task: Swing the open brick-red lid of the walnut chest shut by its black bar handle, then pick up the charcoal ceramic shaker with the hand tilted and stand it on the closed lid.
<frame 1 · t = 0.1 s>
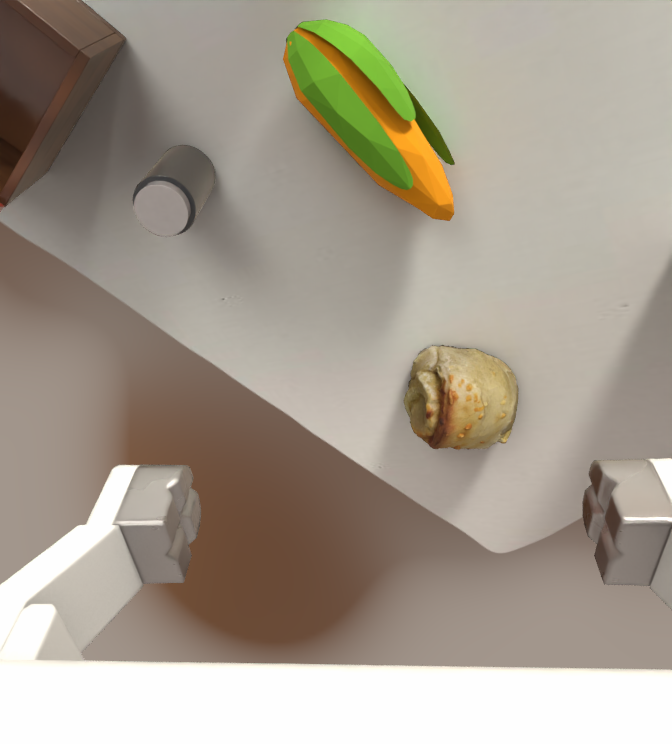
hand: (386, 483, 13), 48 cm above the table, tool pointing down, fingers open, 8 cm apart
chest: (8, 51, 53), on the table
pastry: (459, 387, 72), on the table
corn: (381, 116, 55), on the table
shaker: (187, 173, 58), on the table
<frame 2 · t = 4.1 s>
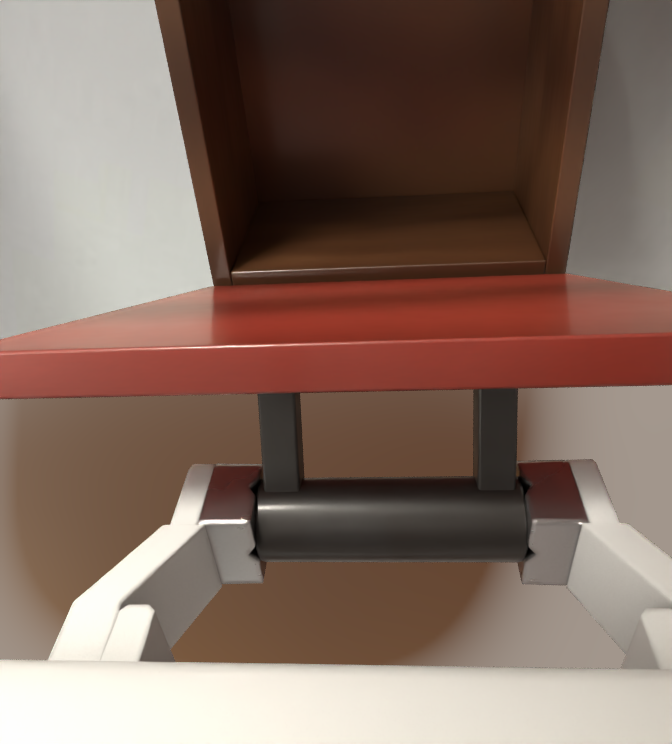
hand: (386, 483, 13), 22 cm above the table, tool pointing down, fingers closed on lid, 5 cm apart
chest: (380, 40, 28), on the table
lid: (386, 378, 18), point 17 cm above the table, hinge at 65.0°, touching gripper
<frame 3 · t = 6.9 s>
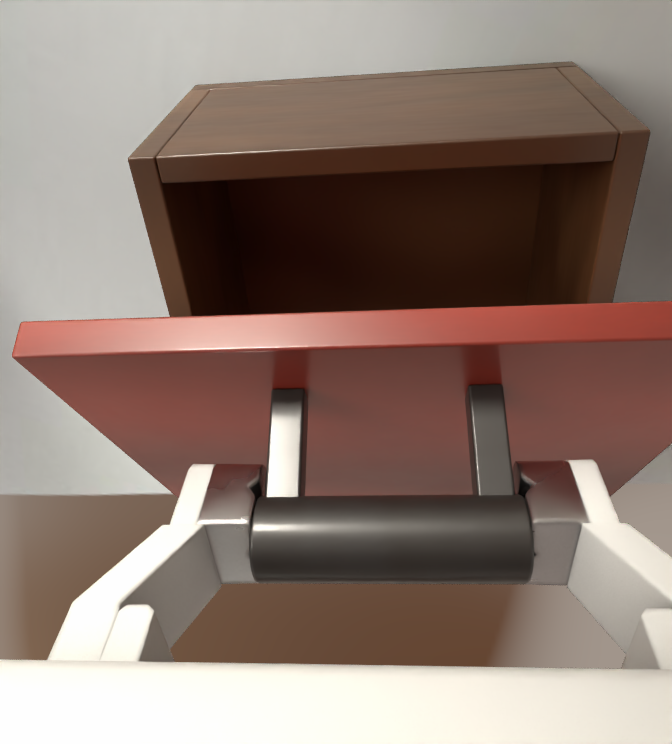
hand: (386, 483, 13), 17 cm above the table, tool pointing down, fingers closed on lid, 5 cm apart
chest: (384, 256, 28), on the table
lid: (389, 527, 18), point 14 cm above the table, hinge at 26.7°, touching gripper
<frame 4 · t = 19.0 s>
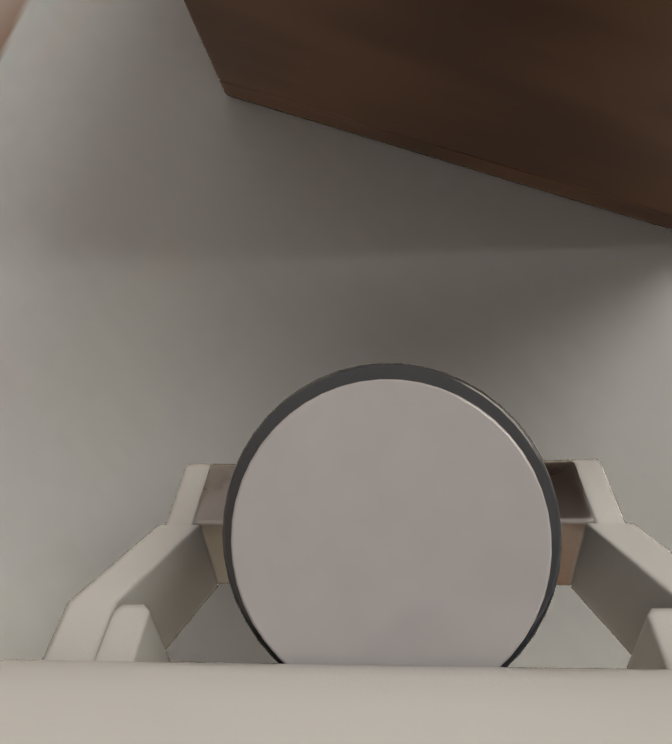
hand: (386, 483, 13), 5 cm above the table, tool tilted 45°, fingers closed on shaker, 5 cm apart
shaker: (389, 501, 18), on the table, touching gripper
when the fingers open (14 cm above the table, at t = 27.9 s): shaker stays where it is, resting on lid.
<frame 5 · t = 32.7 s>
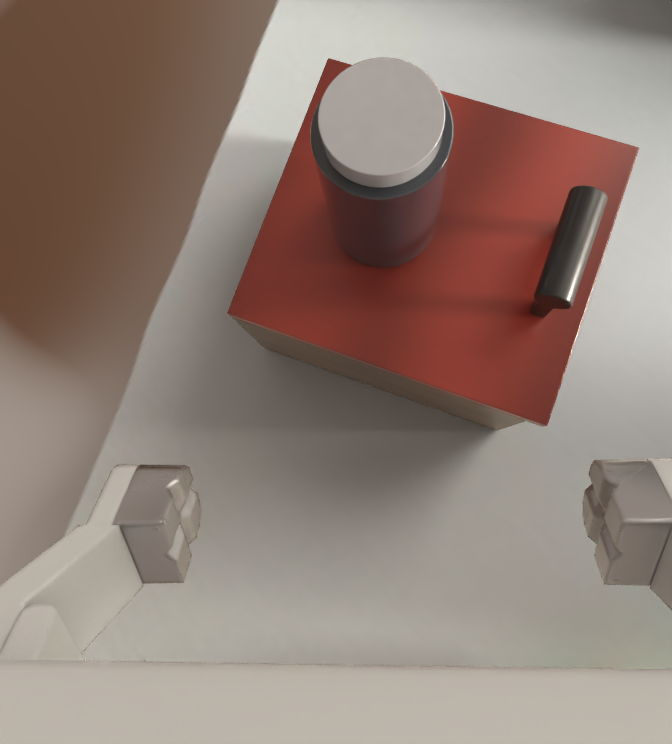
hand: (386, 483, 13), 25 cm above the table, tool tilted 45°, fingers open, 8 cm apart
chest: (416, 282, 39), on the table
shaker: (383, 216, 31), point 9 cm above the table, touching lid
lid: (433, 218, 29), point 11 cm above the table, hinge at -0.2°, touching chest, shaker
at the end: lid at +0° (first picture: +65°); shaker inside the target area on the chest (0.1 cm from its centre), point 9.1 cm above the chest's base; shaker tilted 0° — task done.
